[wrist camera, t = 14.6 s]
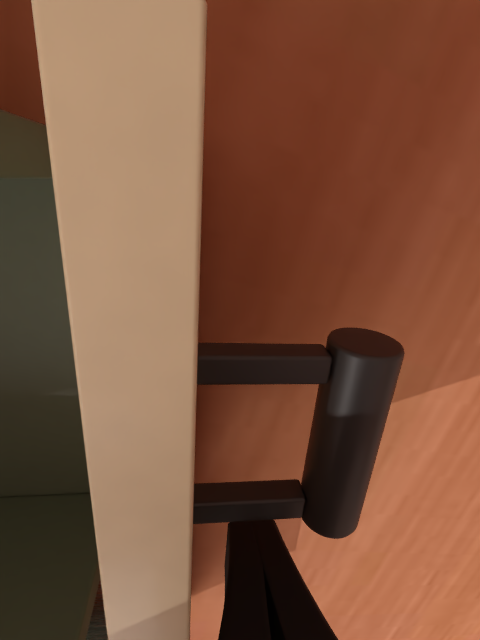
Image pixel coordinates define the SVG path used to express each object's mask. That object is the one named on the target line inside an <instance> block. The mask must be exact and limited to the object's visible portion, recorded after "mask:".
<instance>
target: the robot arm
mask: <svg viewBox="0 0 480 640" xmlns="http://www.w3.org/2000/svg"><path fill="white" fill-rule="evenodd" d="M218 640H338V639H337V637H336V635H335V634H334V632H333V631H332V629H331V627H330V626H329V624H328V622H327V621H326V619H325V617H324V616H323V614H322V612H321V611H320V609H319V607H318V605H317V604H316V602H315V600H314V598H313V597H312V595H311V593H310V591H309V590H308V588H307V586H306V584H305V582H304V581H303V579H302V577H301V575H300V573H299V571H298V569H297V567H296V565H295V563H294V561H293V559H292V557H291V555H290V553H289V551H288V549H287V547H286V545H285V543H284V541H283V539H282V536H281V534H280V532H279V530H278V527H277V525H276V523H275V521H274V520H256V521H239V522H230V523H229V524H228V532H227V544H226V556H225V602H224V609H223V616H222V622H221V627H220V633H219V638H218Z"/></svg>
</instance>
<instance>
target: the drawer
mask: <svg viewBox="0 0 480 640" xmlns="http://www.w3.org/2000/svg"><path fill="white" fill-rule="evenodd" d="M31 4H32V12H33V20H34V29H35V37H36V45H37V54H38V62H39V70H40V79H41V87H42V95H43V104H44V112H45V120H46V125H44V124H41V123H39V122H36V121H33V120H30V119H27V118H24V117H21V116H18V115H16V114H13V113H10V112H7V111H4V110H1V109H0V640H86V636H87V632H88V628H89V624H90V619H91V615H92V611H93V607H94V602H95V598H96V594H97V590H98V585H99V581H100V578H101V586H102V595H103V603H104V611H105V620H106V628H107V636H108V640H190V610H191V574H192V538H193V524H205V523H222V522H239V521H256V520H273V519H290V518H301V517H302V519H303V521H304V522H305V523H306V525H307V526H308V527H309V528H310V529H312V530H313V531H314V532H316V533H318V534H319V535H322V536H324V537H328V538H333V539H338V538H344V537H346V536H348V535H350V534H351V533H353V532H354V530H355V529H356V527H357V525H358V522H359V518H360V514H361V511H362V507H363V503H364V500H365V496H366V492H367V489H368V485H369V481H370V478H371V474H372V471H373V467H374V463H375V460H376V456H377V452H378V449H379V445H380V441H381V438H382V434H383V431H384V427H385V423H386V420H387V416H388V412H389V409H390V405H391V401H392V398H393V394H394V390H395V387H396V383H397V380H398V376H399V372H400V369H401V365H402V361H403V358H404V349H403V347H402V345H401V344H400V343H399V342H398V341H396V340H395V339H393V338H391V337H389V336H387V335H385V334H382V333H379V332H376V331H372V330H368V329H362V328H340V329H336V330H333V331H332V332H331V333H330V334H329V336H328V338H327V343H326V348H325V347H324V346H323V345H321V344H257V343H198V323H199V287H200V251H201V215H202V179H203V143H204V107H205V72H206V36H207V3H206V0H31ZM197 384H198V385H230V384H319V388H318V393H317V399H316V404H315V410H314V415H313V421H312V427H311V432H310V438H309V443H308V449H307V454H306V460H305V466H304V471H303V477H302V482H301V484H300V481H299V480H297V479H294V480H271V481H248V482H225V483H202V484H194V466H195V430H196V394H197Z"/></svg>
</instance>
